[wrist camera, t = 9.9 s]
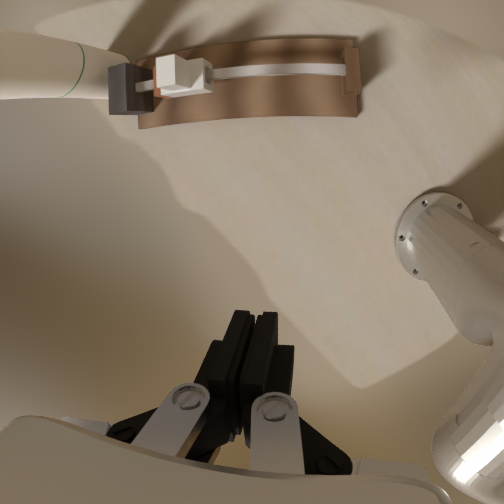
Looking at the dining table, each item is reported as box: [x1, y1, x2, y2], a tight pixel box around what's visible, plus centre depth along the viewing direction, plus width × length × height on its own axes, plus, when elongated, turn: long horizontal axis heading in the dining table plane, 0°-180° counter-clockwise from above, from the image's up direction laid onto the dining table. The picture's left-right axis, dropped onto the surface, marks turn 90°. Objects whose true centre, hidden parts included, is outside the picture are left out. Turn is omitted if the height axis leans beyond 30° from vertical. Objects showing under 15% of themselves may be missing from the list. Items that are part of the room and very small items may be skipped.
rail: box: [108, 38, 362, 129], centre depth 31 cm, size 28×10×8 cm, turn 93°
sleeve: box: [156, 54, 213, 98], centre depth 29 cm, size 5×4×8 cm
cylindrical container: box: [0, 29, 130, 99], centre depth 25 cm, size 7×7×25 cm
